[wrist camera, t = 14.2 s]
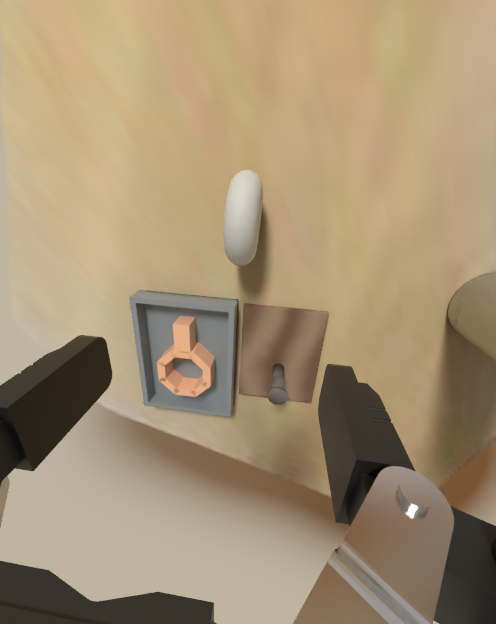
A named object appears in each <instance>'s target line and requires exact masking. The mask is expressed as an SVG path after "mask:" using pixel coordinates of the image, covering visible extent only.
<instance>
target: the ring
mask: <svg viewBox="0 0 496 624" xmlns="http://www.w3.org/2000/svg"><path fill="white" fill-rule="evenodd" d="M173 335H174V344H173V345H172V346H171V347H170V348H168V349H167V350H166V351H165V352H164V353H163V354H162V356H161V357H160V358H159V360H158V361H157V369H158V378H159V381H160V382H161V383H162V384H163V385H165V386H166V387H167V388H168V389H169V390H170V391H171V392H173V393H174V394H176V395H184V396H192V397H196V396H198V395H199V394H201V393H202V392H204V391H205V390H206V389H208V388H209V387H211V384H212V382H213V379H214V376H215V357H214V356H213V355H212V354H211V353H210V352H209V351H208V350H207V349H206V348H205V347H204V346H203V345H202V344H201V343H200V342H196V318H195V317H190V316H179V317H178V319H177V320H176V321H175V322H174V323H173ZM175 357H176V358H185V359H191V360H192V361H193V362H194V363H196V364H197V365H198V366H199V367H200V368H201V369H202V370H203V375H202V376H201V377H200V378H198V379H195V378H187V377H183V376H182V375H181V374H180V373H179V372H177V371H176V370H175V369H174V368H173V362H172V359H174V358H175Z"/></svg>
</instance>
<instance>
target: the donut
mask: <svg viewBox="0 0 496 624" xmlns="http://www.w3.org/2000/svg"><path fill="white" fill-rule="evenodd" d="M262 200H263V185H262V181H261V178H260V177H259V176H258V174H256V173H255V172H254V171H250V170H243V171H241V172H239V173H237V174H236V175H235V176H234V177H233V178H232V180H231V182H230V185H229V188H228V193H227V197H226V205H225V215H224V247H225V252H226V255H227V257H228V259H229V260H230V261H231V262H232V263H233V264H235V265H238V266H244V265H247V264H249V263H250V262H251V261H252V260H253V259H254V257H255V254H256V250H257V245H258V239H259V231H260V223H261V213H262Z"/></svg>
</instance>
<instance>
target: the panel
mask: <svg viewBox="0 0 496 624" xmlns="http://www.w3.org/2000/svg"><path fill="white" fill-rule="evenodd" d="M328 316H329V314H328V312H327V311H316V310H306V309H296V308H286V307H276V306H265V305H255V304H244V310H243V328H242V347H241V365H240V384H239V393H240V394H248V395H255V396H263V397H268V399H269V401H270V402H272V403H273V404H277V405H279V404H283V403H285V402H286V401H287V400H295V401H303V402H311V401H312V396H313V391H314V386H315V381H316V376H317V371H318V366H319V361H320V356H321V351H322V346H323V341H324V336H325V331H326V326H327V321H328Z"/></svg>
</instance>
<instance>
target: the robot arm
mask: <svg viewBox="0 0 496 624" xmlns="http://www.w3.org/2000/svg"><path fill="white" fill-rule="evenodd" d="M448 318H449V322H450V324H451V326H452V327H453V328H454V329H455V330H456V331H457V332H458V333H460V334H461V335H462V336H463V337H465V338H466V339H467V340H468V341H470V342H471V343H472V344H473V345H475V346H476V347H477V348H478V349H480V350H481V351H482V352H483V353H485V354H486V355H487V356H488V357H490V358H491V359H492V360H494V361H495V362H496V273H489V274H486V275H482V276H479V277H477V278H475V279H473V280H471V281H470V282H468V283H466V284H465V285H464V286H463V287H462V288H460V289H459V290H458V291H457V293H456V294H455V295H454V296H453V298H452V300H451V302H450V305H449V308H448ZM111 379H112V369H111V364H110V359H109V353H108V348H107V343H106V341H105V339H104V338H102V337H94V336H85V335H80V336H78V337H76V338H75V339H73V340H72V341H70V342H69V343H67V344H66V345H65V346H63V347H62V348H60V349H58V350H55V351H53V352H51V353H48V354H46V355H45V356H43V357H42V358H40V359H39V360H37V361H36V362H34V363H33V365H32V366H31V365H30V366H29V367H27V368H26V369H24V370H23V371H21V374H17V375H15V376H14V377H12V378H11V379H9V380H8V381H6V382H5V383H4V384H2V385H1V386H0V526H1V522H2V517H3V512H4V508H5V502H6V498H7V493H8V489H9V479H8V477H7V475H8V474H9V473H10V472H11V471H12V470H13V469H14V468H16V469H23V470H29V471H34V470H35V469H36V468H37V466H38V465H39V464H40V463H41V462H42V461H43V460H44V459H45V457H46V456H47V455H48V454H49V453H50V452H51V451H52V450H53V449H54V448H55V447H56V445H57V444H58V443H59V442H60V441H61V440H62V439H63V437H64V436H65V435H66V434H67V433H68V432H69V431H70V429H72V427H73V426H74V425H75V424H76V423H77V422H78V421H79V420H80V419H81V418H82V416H83V415H84V414H85V413H86V412H87V411H88V410H89V409H90V408H91V406H92V405H93V404H94V403H95V402H96V401H97V400H98V399H99V398H100V396H101V395H102V394H103V393H104V392H105V391H106V390H107V388H108V387H109V385H110V383H111ZM318 415H319V422H320V428H321V435H322V441H323V447H324V453H325V459H326V465H327V472H328V478H329V484H330V490H331V496H332V502H333V509H334V515H335V520H336V522H338V523H344V524H349V526H350V528H349V530H348V531H347V533H346V535H345V537H344V539H343V541H342V542H341V544H340V546H339V547H338V549H335V551H334V552H333V553H332V555H331V556H330V558H329V560H328V561H327V563H326V565H325V567H324V568H323V570H322V572H321V574H320V576H319V578H318V579H317V581H316V583H315V585H314V587H313V589H312V590H311V592H310V594H309V596H308V597H307V599H306V601H305V603H304V605H303V606H302V608H301V610H300V612H299V614H298V616H297V617H296V619H295V621H294V623H293V624H433V620H434V621H436V622H438V623H439V624H496V526H494V525H492V524H489V523H487V522H485V521H483V520H480V519H478V518H476V517H473V516H471V515H469V514H466V513H464V512H462V511H460V510H457V509H456V508H454V507H452V506H450V505H449V503H448V501H447V500H446V498H445V497H444V495H443V494H442V493H441V491H440V490H439V489H438V488H437V487H436V486H435V485H434V484H433V483H432V482H430V481H429V480H428V479H427V478H425V477H424V476H422V475H421V474H419V473H417V472H416V471H415V469H414V467H413V465H412V463H411V461H410V459H409V457H408V455H407V453H406V451H405V449H404V446H403V444H402V442H401V440H400V438H399V436H398V434H397V432H396V430H395V428H394V426H393V424H392V423H391V419H390V417H389V415H388V413H387V411H385V407H384V405H383V403H382V401H381V398H380V396H379V395H378V394H377V393H376V392H375V391H374V390H373V389H372V388H371V387H370V386H369V385H368V384H366V383H358V381H357V379H356V376H355V374H354V371H353V369H352V367H351V366H342V365H334V364H328V365H327V367H326V370H325V375H324V379H323V384H322V389H321V393H320V398H319V406H318ZM0 624H216V623H215V622H214V603H212V602H207V601H202V600H197V599H192V598H186V597H181V596H176V595H171V594H166V593H161V592H155V593H148V594H143V595H137V596H130V597H124V598H118V599H112V600H106V601H99V602H94V601H90V600H89V599H87V598H86V597H84V596H83V595H82V594H80V593H79V592H77V591H76V590H75V589H73V588H72V587H71V586H69V585H68V584H67V583H65V582H64V581H63V580H61V579H60V578H59V577H57V576H56V575H54V574H53V573H52V572H50V571H49V570H44V569H39V568H33V567H28V566H23V565H18V564H13V563H8V562H3V561H0Z"/></svg>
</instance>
